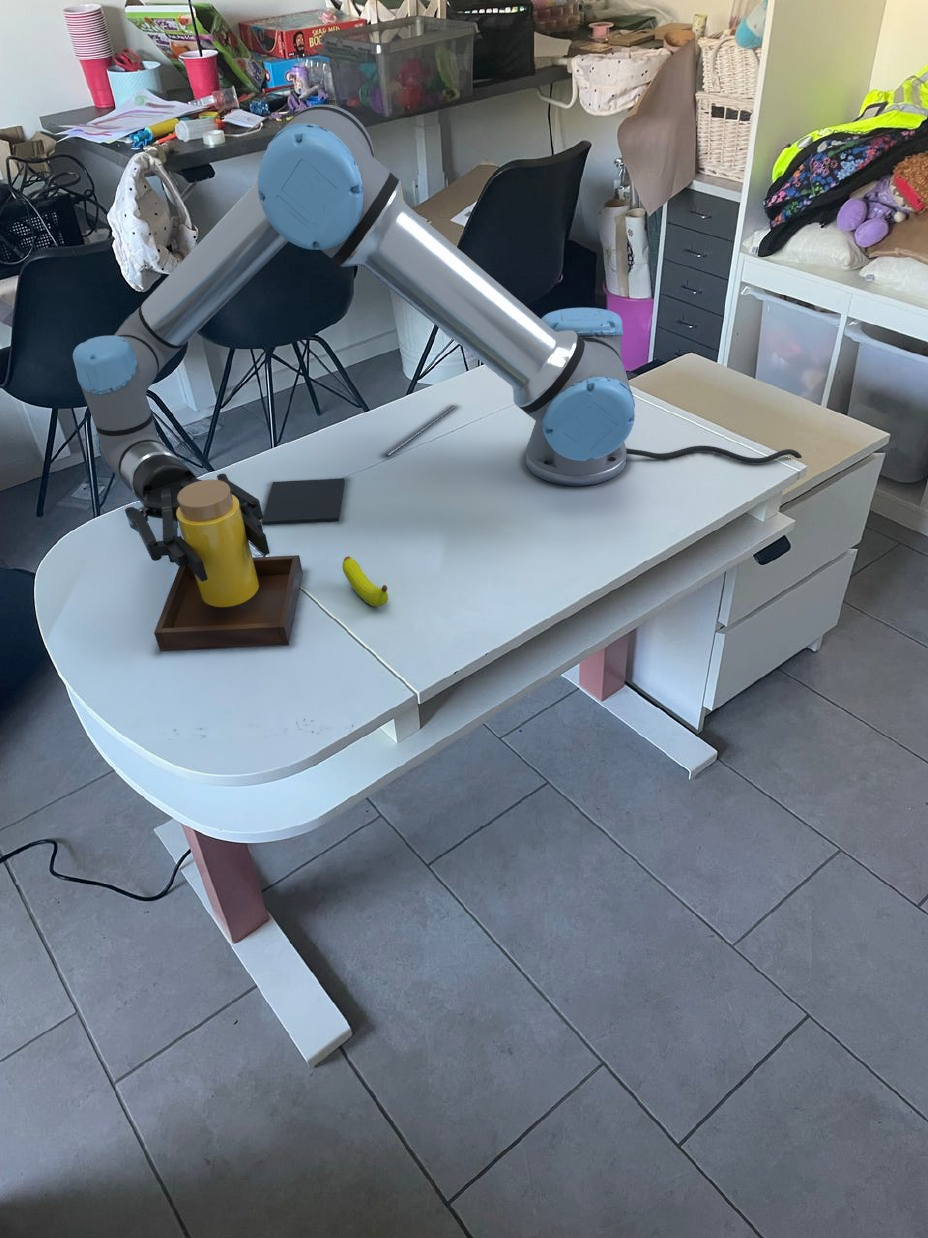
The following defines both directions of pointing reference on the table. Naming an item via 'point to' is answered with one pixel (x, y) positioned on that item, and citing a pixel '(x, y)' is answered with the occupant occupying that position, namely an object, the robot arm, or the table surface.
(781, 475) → the table surface
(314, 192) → the robot arm
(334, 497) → the mat
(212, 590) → the jar
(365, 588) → the fruit
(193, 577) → the box
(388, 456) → the rod
